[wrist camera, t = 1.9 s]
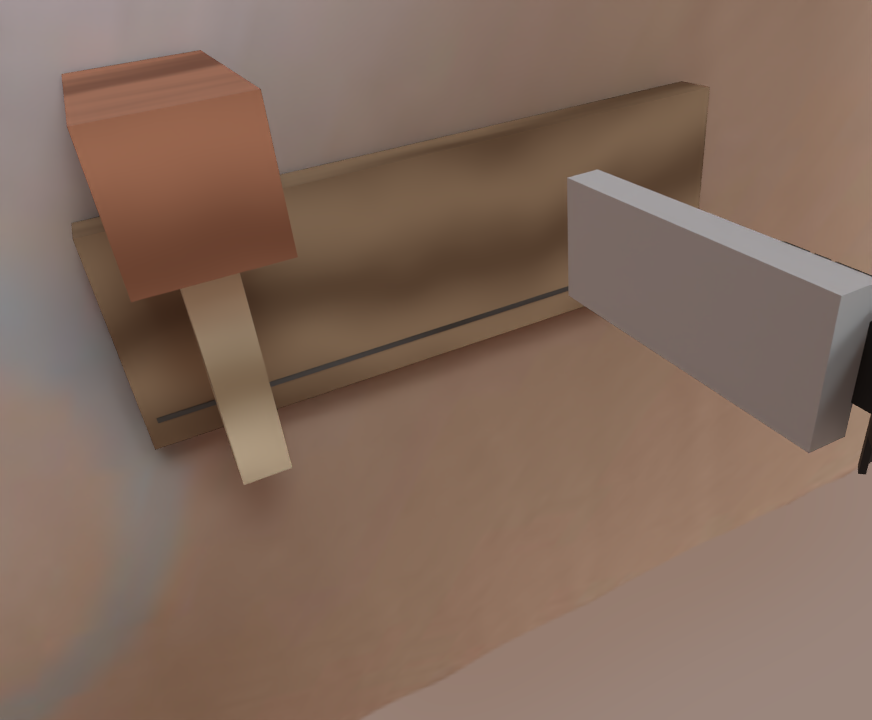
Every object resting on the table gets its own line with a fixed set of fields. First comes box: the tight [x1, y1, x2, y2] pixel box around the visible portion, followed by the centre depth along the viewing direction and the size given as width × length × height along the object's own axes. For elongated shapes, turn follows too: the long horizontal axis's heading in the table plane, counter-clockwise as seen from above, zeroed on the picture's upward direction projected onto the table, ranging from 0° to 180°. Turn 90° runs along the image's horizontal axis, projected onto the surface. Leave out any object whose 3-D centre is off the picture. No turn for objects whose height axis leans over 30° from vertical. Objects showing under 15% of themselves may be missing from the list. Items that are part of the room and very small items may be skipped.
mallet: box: [62, 50, 298, 485], centre depth 27 cm, size 15×5×10 cm, turn 7°
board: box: [72, 82, 710, 450], centre depth 35 cm, size 10×30×2 cm, turn 97°
